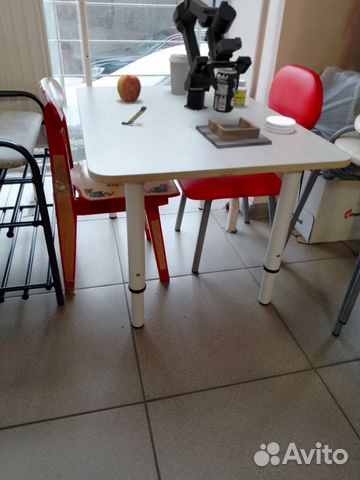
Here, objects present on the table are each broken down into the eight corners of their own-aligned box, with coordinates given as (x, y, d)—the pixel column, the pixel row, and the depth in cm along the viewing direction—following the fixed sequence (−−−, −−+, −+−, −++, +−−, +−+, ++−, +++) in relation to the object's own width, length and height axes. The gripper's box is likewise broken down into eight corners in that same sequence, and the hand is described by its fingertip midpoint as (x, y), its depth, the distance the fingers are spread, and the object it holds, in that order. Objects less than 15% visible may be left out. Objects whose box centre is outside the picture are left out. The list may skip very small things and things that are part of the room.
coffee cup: (189, 96, 152) (192, 57, 143) (167, 95, 152) (168, 56, 143) (189, 91, 160) (191, 54, 151) (168, 90, 160) (169, 53, 151)
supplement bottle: (229, 106, 142) (232, 80, 136) (232, 103, 146) (236, 78, 140) (242, 109, 140) (246, 82, 135) (245, 105, 145) (249, 79, 139)
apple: (125, 105, 136) (124, 77, 130) (113, 100, 142) (112, 72, 136) (145, 102, 141) (145, 75, 135) (132, 97, 146) (132, 71, 141)
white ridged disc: (299, 134, 118) (301, 124, 116) (271, 135, 117) (273, 124, 114) (285, 125, 126) (288, 115, 124) (259, 125, 124) (261, 115, 122)
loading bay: (195, 128, 117) (196, 116, 115) (244, 125, 123) (246, 114, 120) (217, 148, 104) (218, 134, 101) (271, 144, 109) (274, 131, 106)
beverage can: (229, 107, 120) (234, 68, 113) (235, 113, 115) (240, 73, 108) (210, 107, 119) (214, 68, 112) (215, 113, 114) (219, 72, 107)
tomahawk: (140, 130, 117) (140, 127, 116) (120, 126, 118) (121, 122, 117) (158, 112, 133) (158, 109, 133) (141, 108, 134) (141, 105, 134)
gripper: (197, 25, 104) (208, 74, 102) (254, 26, 109) (265, 73, 107) (186, 51, 114) (196, 96, 112) (239, 51, 119) (249, 94, 118)
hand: (226, 89), depth 112 cm, fingers closed on beverage can, 7 cm apart
